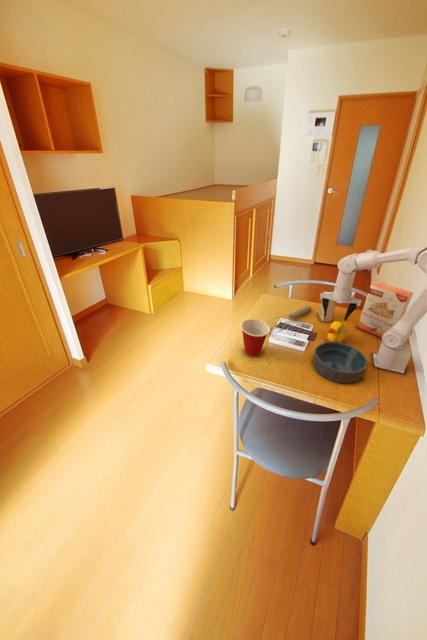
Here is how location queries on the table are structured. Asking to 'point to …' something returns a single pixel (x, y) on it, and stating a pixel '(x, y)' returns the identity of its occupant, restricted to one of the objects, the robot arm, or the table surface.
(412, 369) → the table surface
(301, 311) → the kitchen whisk
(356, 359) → the bowl
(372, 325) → the cracker box
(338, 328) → the duckling
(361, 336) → the table surface
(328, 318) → the cosmetic box
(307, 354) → the table surface
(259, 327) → the plastic cup
